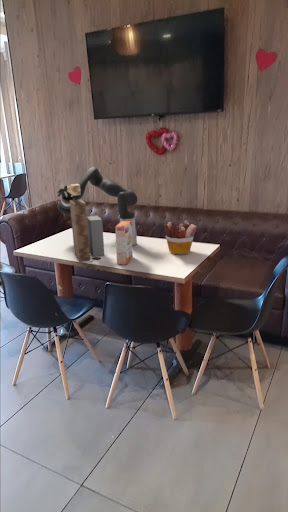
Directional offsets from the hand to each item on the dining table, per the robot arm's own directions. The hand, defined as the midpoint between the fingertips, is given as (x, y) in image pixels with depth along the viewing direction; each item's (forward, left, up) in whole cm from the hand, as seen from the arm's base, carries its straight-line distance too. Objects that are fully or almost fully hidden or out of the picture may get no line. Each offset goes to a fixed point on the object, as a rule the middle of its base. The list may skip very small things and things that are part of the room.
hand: (70, 186), depth 207 cm
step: (-10, +11, -39) cm, 41 cm away
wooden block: (-1, +14, -39) cm, 41 cm away
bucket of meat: (-54, +30, -39) cm, 73 cm away
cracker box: (-21, +30, -39) cm, 53 cm away
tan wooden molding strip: (0, +7, -3) cm, 7 cm away
